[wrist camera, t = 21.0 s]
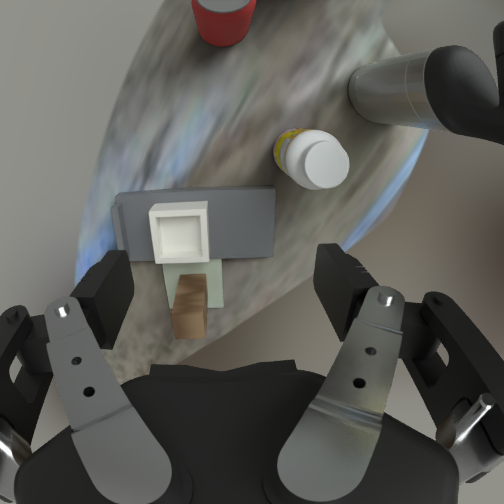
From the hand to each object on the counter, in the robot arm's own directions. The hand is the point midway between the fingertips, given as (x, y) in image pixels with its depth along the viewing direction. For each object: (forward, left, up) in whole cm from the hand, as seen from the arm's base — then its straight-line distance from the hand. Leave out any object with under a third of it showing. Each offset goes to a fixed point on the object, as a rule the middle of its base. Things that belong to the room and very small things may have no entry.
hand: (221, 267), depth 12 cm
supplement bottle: (-10, -2, -28) cm, 30 cm away
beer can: (0, -20, -28) cm, 35 cm away
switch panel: (+4, +8, -28) cm, 29 cm away
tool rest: (+5, +18, -28) cm, 34 cm away
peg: (+5, +18, -27) cm, 33 cm away
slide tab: (+6, +8, -26) cm, 28 cm away
